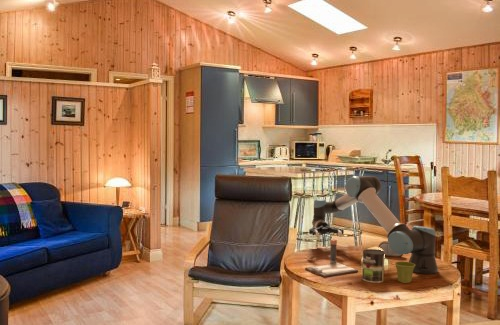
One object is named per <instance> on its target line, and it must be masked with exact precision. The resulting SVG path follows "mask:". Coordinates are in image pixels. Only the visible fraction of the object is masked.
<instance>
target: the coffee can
mask: <svg viewBox="0 0 500 325" xmlns="http://www.w3.org/2000/svg"><path fill="white" fill-rule="evenodd" d="M362 253H363V254H362V277H361V278H362V281H364V282H367V283H371V284H376V283H377V284H380V283H383V282H384V281H385V280H384V276H385V275H384V270H385V256H384V254H385V252H384V251H381V250H379V249H375V248H374V249H373V248H368V249H363V250H362Z"/></svg>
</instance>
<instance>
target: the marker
mask: <svg viewBox="0 0 500 325" xmlns="http://www.w3.org/2000/svg"><path fill="white" fill-rule="evenodd" d="M329 241H330V250H329V252H330V253H329V254H330V257H329V258H330V259H329V264H334V263H337V245H338V244H337V243H338V240H337V239H330V240H329Z"/></svg>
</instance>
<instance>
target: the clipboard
mask: <svg viewBox="0 0 500 325" xmlns="http://www.w3.org/2000/svg"><path fill="white" fill-rule="evenodd" d="M304 270H306V271H308V272H310V273H312V274H314V275H317V276H320V277H323V278H328V277H329V278H330V277H335V276H341V275H343V276H344V275H347V274H355V273H359V269H357V268H353V267H351V266H347V265H345V264H342V263H339V262H336V263H334V264H330V263H329V264H328V263H327V264H322V265H313V266H308V267H304Z"/></svg>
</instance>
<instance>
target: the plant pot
mask: <svg viewBox="0 0 500 325" xmlns="http://www.w3.org/2000/svg"><path fill="white" fill-rule="evenodd" d="M394 264H395V267H396V275H397V281H398V282H399V283H401V284H408V283H409V284H410V283H412V280H413V279H412V278H413V273H414V272H413V269H414V266H415V264H414V263H411V262H409V261H396V262H395V263H394Z"/></svg>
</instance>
